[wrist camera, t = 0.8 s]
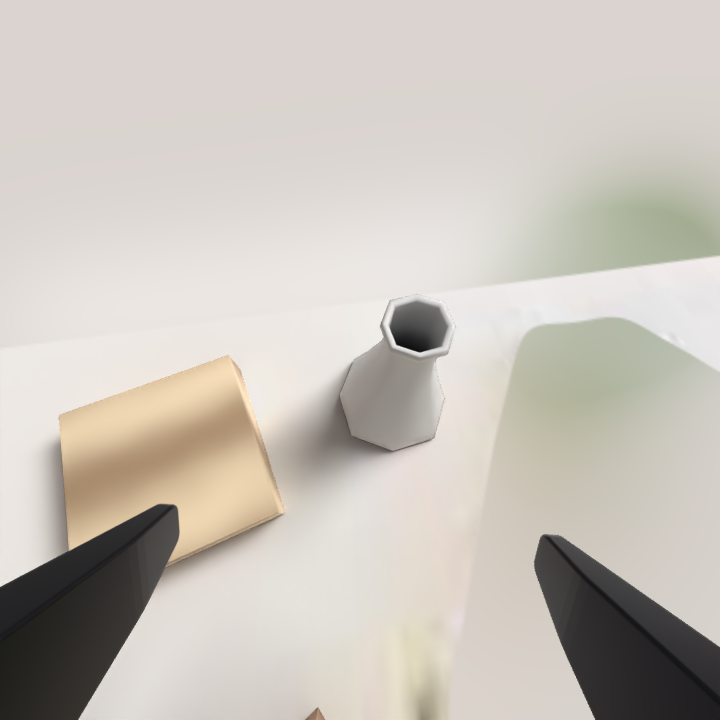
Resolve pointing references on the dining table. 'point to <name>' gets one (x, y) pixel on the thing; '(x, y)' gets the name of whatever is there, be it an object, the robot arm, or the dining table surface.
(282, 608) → the dining table surface
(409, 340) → the flask
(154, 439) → the oak block
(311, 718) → the walnut cube
